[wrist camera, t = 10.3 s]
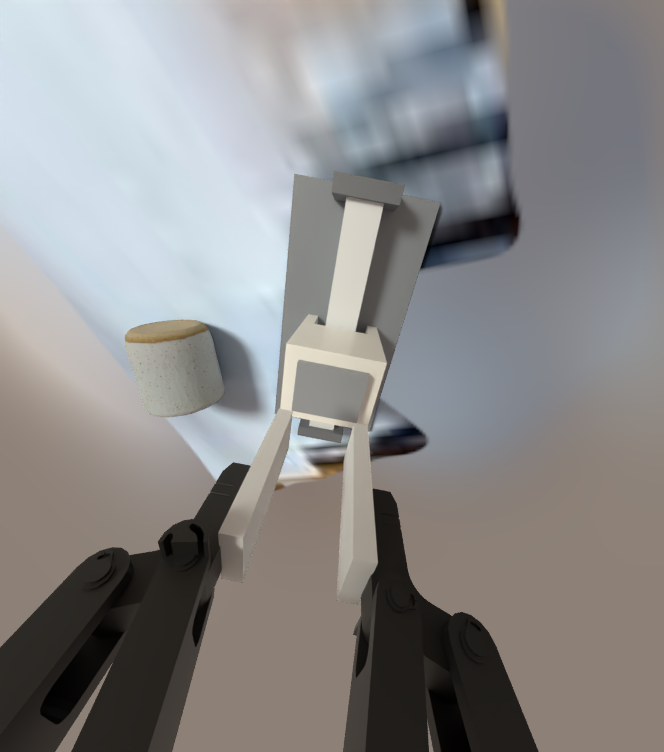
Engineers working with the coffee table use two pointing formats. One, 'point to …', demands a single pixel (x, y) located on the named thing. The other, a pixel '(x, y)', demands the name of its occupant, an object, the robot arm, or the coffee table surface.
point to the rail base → (323, 258)
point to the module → (332, 373)
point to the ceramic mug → (174, 367)
